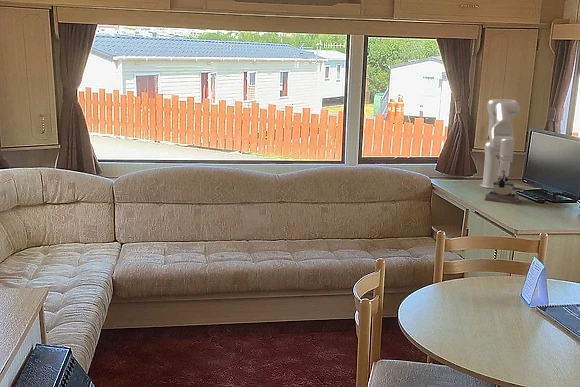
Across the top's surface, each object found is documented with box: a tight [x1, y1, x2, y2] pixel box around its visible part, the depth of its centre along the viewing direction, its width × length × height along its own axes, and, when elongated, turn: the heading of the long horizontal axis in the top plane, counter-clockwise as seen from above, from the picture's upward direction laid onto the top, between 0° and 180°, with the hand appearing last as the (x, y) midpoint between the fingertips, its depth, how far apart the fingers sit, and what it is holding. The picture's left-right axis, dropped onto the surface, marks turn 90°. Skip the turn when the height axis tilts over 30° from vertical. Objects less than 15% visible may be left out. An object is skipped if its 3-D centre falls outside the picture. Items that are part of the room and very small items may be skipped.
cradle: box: [484, 190, 520, 205], centre depth 345 cm, size 13×18×4 cm
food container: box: [493, 180, 515, 197], centre depth 345 cm, size 12×6×10 cm, turn 69°
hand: (502, 185), depth 344 cm, fingers open, 9 cm apart
